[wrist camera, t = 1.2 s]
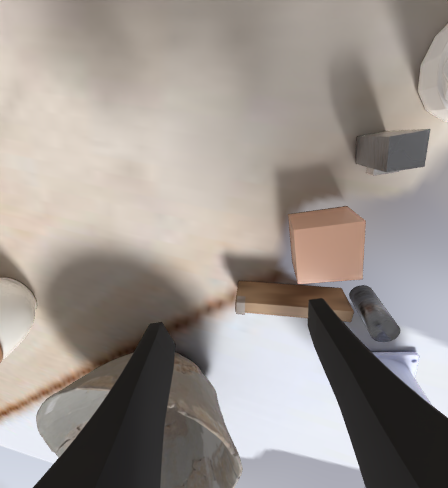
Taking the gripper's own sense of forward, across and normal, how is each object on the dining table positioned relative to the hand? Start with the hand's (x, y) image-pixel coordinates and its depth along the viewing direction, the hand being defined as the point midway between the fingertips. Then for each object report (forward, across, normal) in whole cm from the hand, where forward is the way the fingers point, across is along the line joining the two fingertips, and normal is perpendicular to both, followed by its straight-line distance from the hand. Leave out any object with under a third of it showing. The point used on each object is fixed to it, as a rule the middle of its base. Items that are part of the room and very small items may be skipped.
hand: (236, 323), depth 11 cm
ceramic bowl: (+9, +13, +23) cm, 28 cm away
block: (+11, -8, +4) cm, 14 cm away
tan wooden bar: (+10, -5, +9) cm, 14 cm away
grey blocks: (+10, -12, +4) cm, 16 cm away
